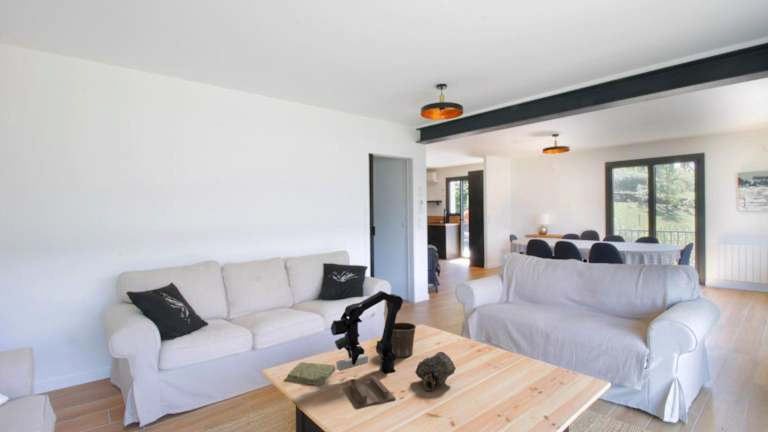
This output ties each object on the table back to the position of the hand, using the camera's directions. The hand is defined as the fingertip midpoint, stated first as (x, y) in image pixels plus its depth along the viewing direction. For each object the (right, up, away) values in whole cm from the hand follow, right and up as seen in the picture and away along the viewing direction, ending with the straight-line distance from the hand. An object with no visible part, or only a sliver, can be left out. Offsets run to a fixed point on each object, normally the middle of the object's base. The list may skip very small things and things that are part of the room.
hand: (352, 363), depth 191 cm
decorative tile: (-22, -9, +5) cm, 24 cm away
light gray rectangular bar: (0, -1, 0) cm, 1 cm away
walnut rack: (+9, -9, -15) cm, 19 cm away
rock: (+39, -8, -7) cm, 40 cm away
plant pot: (+26, -8, +34) cm, 43 cm away
